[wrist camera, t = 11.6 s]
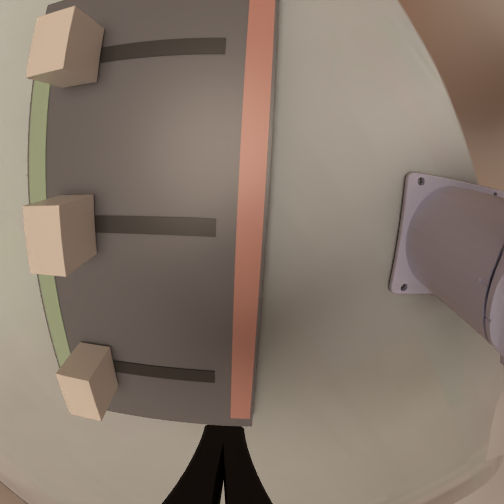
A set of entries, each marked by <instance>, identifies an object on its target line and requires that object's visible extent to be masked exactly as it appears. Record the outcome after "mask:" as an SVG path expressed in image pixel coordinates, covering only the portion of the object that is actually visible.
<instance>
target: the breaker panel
mask: <svg viewBox="0 0 504 504" xmlns="http://www.w3.org/2000/svg"><path fill="white" fill-rule="evenodd" d="M72 6H76V7H77V8H79V9H80V10H81V11H83V12H84V13H85V14H87V15H88V16H89V17H90V18H92V19H93V20H94V21H95V22H97V23H98V24H99V25H101V26H102V27H103V28H104V34H103V40H102V46H101V53H100V60H99V67H98V76H97V82H95V83H88V84H82V85H76V86H71V87H65V88H61V87H58V86H54V85H51V84H47V83H44V82H40V81H36V80H33V85H32V93H31V103H30V115H29V131H28V194H29V204H31V203H35V202H38V201H41V200H45V199H48V198H52V197H55V196H59V195H84V194H94V220H95V236H96V249H97V254H96V255H94V256H93V257H92V258H90V259H89V260H88V261H86V262H85V263H84V264H82V265H81V266H80V267H78V268H77V269H76V270H74V271H73V272H72V273H70V274H69V275H68V276H66V277H63V276H53V275H43V274H37V277H38V282H39V288H40V293H41V298H42V303H43V308H44V312H45V317H46V321H47V325H48V329H49V333H50V337H51V341H52V344H53V348H54V352H55V355H56V358H57V362H58V365H59V368H60V367H61V366H62V365H63V363H64V362H65V361H66V359H67V358H68V357H69V355H70V354H71V353H72V351H73V350H74V349H75V348H76V346H77V345H78V344H79V343H80V342H82V343H88V344H94V345H101V346H107V347H110V350H111V355H112V360H113V365H114V369H115V374H116V378H117V382H118V388H117V390H116V392H115V394H114V396H113V398H112V400H111V402H110V404H109V406H108V408H107V411H112V412H118V413H123V414H129V415H135V416H141V417H147V418H154V419H161V420H169V421H178V422H187V423H198V424H211V425H227V426H252V416H253V404H254V392H255V379H256V367H257V354H258V341H259V328H260V314H261V301H262V287H263V272H264V258H265V243H266V228H267V213H268V197H269V181H270V164H271V147H272V129H273V111H274V92H275V73H276V52H277V30H278V7H279V0H63V1H60V2H57V3H54V4H51V5H48V7H47V11H46V14H49V13H53V12H56V11H59V10H62V9H66V8H69V7H72Z"/></svg>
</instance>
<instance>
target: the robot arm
mask: <svg viewBox="0 0 504 504" xmlns="http://www.w3.org/2000/svg"><path fill="white" fill-rule="evenodd" d="M419 178H421V179H422V182H421V184H420V185H419V184H418V179H419ZM493 193H494V195H493ZM403 284H405V286H404V288H402V289H401V286H402V285H403ZM389 289H390V291H391V292H392V293H394V294H435V295H436V296H437V297H438V298H439V299H441V300H442V301H443V302H444V303H445V304H446V305H448V306H449V307H450V308H451V309H452V310H453V311H455V312H456V313H457V314H458V315H459V316H460V317H461V318H462V319H464V320H465V321H466V322H467V323H468V324H469V325H470V326H471V327H473V328H474V329H475V330H476V331H477V332H478V333H479V334H480V335H481V336H482V337H483V338H485V339H486V340H487V341H488V342H489V343H490V344H491V345H492V346H493V347H494V348H495V349H496V350H497V351H498V352H499V353H500V362H501V363H502V364H503V365H504V191H501V190H497V189H493V188H489V187H485V186H481V185H476V184H472V183H467V182H463V181H458V180H453V179H448V178H443V177H438V176H433V175H427V174H422V173H416V172H410V173H408V174H407V176H406V179H405V189H404V198H403V206H402V214H401V221H400V228H399V235H398V241H397V247H396V253H395V259H394V264H393V269H392V275H391V280H390V284H389ZM223 480H224V491H225V504H272V502H271V500H270V498H269V497H268V495H267V493H266V491H265V489H264V487H263V485H262V483H261V481H260V479H259V477H258V475H257V472H256V470H255V468H254V465H253V463H252V460H251V457H250V454H249V451H248V448H247V444H246V439H245V434H244V428H243V427H241V426H220V425H207V426H205V428H204V432H203V435H202V438H201V440H200V443H199V445H198V447H197V449H196V451H195V454H194V455H193V457H192V459H191V461H190V463H189V465H188V467H187V468H186V470H185V472H184V473H183V475H182V476H181V478H180V480H179V481H178V483H177V484H176V486H175V487H174V488H173V490H172V491H171V493H170V494H169V495H168V497H167V498H166V499H165V500H164V502H163V503H162V504H220V500H221V493H222V487H223Z"/></svg>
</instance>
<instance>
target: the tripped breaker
mask: <svg viewBox="0 0 504 504" xmlns="http://www.w3.org/2000/svg"><path fill="white" fill-rule="evenodd" d="M103 34H104V28H103V27H102V26H101V25H99V24H98V23H97V22H95V21H94V20H93V19H92V18H90V17H89V16H88V15H87V14H85V13H84V12H83V11H81V10H80V9H79V8H77V7H76V6H72V7H69V8H66V9H62V10H59V11H56V12H53V13H49V14H46V15H44V16H41V17H38V18H37V22H36V26H35V31H34V35H33V40H32V45H31V50H30V55H29V61H28V67H27V74H26V78H29V79H32V80H36V81H40V82H44V83H47V84H51V85H54V86H58V87H61V88H65V87H71V86H76V85H82V84H88V83H95V82H97V76H98V67H99V60H100V53H101V46H102V40H103Z"/></svg>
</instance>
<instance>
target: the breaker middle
mask: <svg viewBox="0 0 504 504" xmlns="http://www.w3.org/2000/svg"><path fill="white" fill-rule="evenodd" d="M23 216H24V227H25V237H26V245H27V253H28V260H29V266H30V272H31V273H33V274H43V275H53V276H63V277H66V276H68V275H69V274H70V273H72V272H73V271H74V270H76V269H77V268H78V267H80V266H81V265H82V264H84V263H85V262H86V261H88V260H89V259H90V258H92V257H93V256H94V255H96V254H97V249H96V236H95V220H94V194H84V195H59V196H55V197H52V198H48V199H45V200H41V201H38V202H35V203H31V204H28V205H25V206H23Z"/></svg>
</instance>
